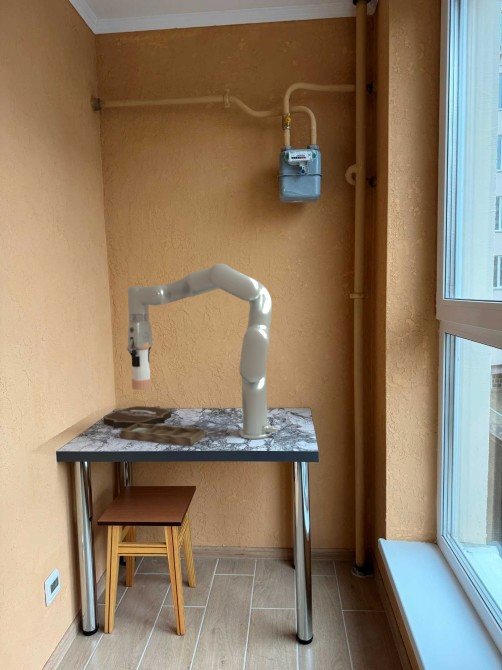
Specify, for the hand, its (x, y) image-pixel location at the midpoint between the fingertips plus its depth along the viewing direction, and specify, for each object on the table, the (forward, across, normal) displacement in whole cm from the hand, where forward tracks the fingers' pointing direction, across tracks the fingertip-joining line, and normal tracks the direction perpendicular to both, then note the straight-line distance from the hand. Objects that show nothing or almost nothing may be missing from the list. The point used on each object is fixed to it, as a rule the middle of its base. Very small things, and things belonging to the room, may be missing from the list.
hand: (140, 364), depth 179 cm
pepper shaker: (+9, 0, 0) cm, 9 cm away
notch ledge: (+28, 0, -9) cm, 29 cm away
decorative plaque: (+29, +19, +16) cm, 38 cm away
